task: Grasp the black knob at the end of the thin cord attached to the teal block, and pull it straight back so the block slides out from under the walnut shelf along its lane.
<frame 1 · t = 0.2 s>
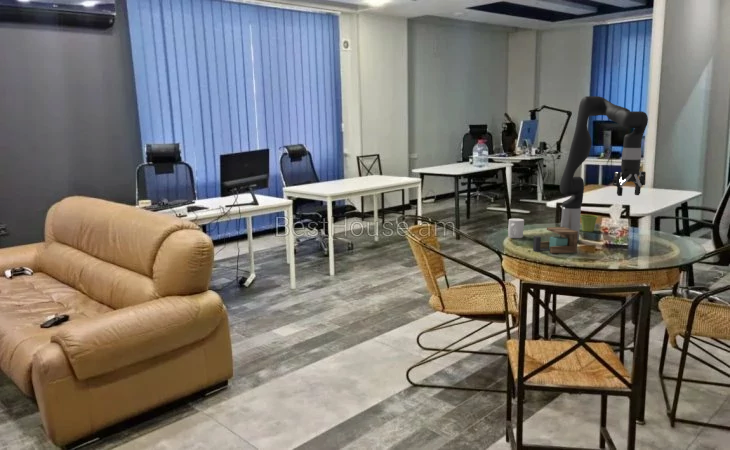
hand: (628, 195, 245), 29 cm above the table, fingers open, 8 cm apart
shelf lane: (556, 249, 270), on the table
plant pot: (587, 231, 318), on the table
mug: (514, 237, 302), on the table
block: (558, 249, 270), on the table
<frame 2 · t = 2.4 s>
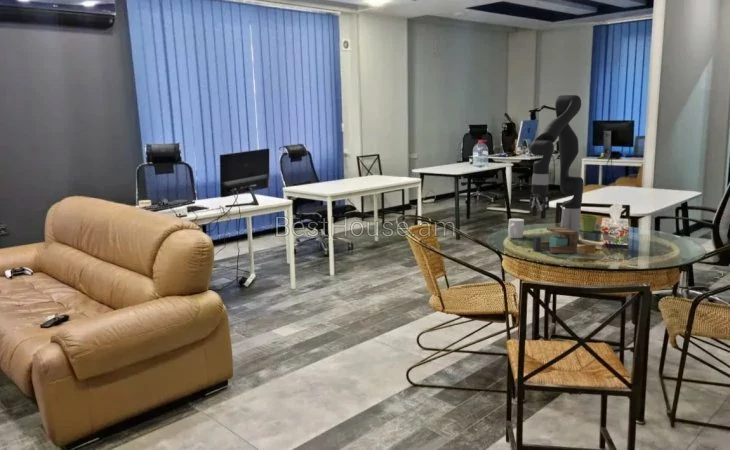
hand: (538, 217, 265), 16 cm above the table, fingers open, 8 cm apart
nothing on the table moved.
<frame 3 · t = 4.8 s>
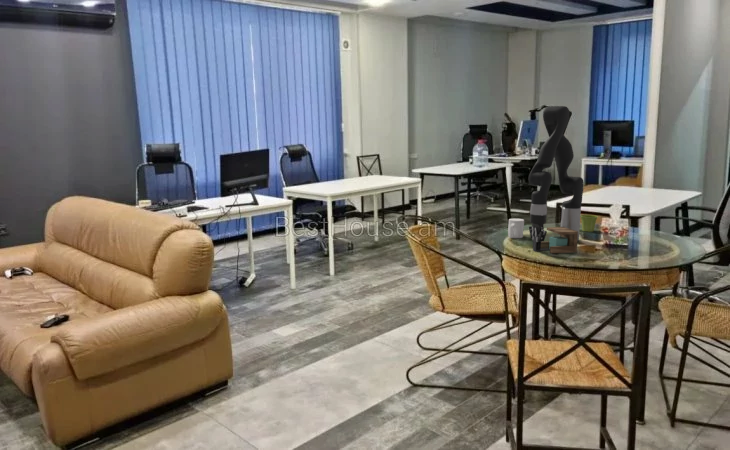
hand: (536, 248, 268), 1 cm above the table, fingers closed on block, 2 cm apart
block: (557, 249, 270), on the table, touching gripper
everything else where it was.
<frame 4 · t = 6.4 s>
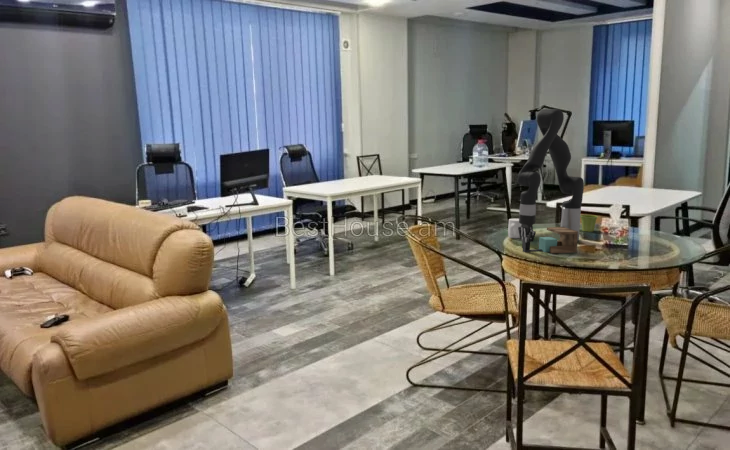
hand: (525, 249, 267), 1 cm above the table, fingers closed on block, 2 cm apart
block: (547, 250, 269), on the table, touching gripper
everything else where it was.
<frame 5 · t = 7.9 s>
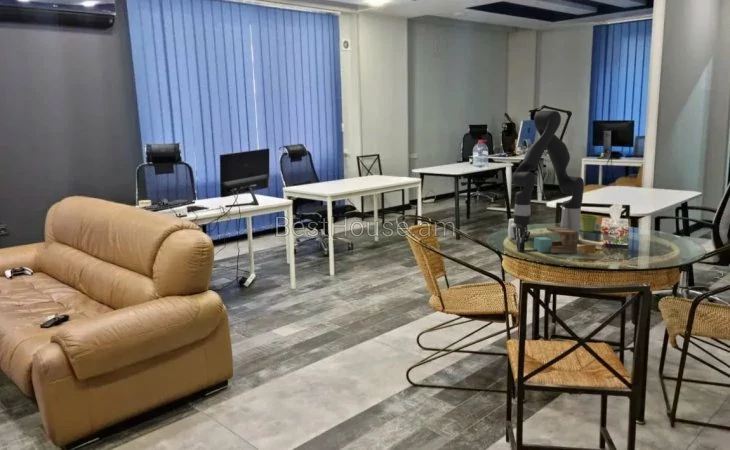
hand: (520, 249, 266), 1 cm above the table, fingers closed on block, 2 cm apart
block: (542, 250, 269), on the table, touching gripper
everything else where it was.
when the fingers open (1 cm above the table, at t = 8.2 s): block stays where it is, on the table.
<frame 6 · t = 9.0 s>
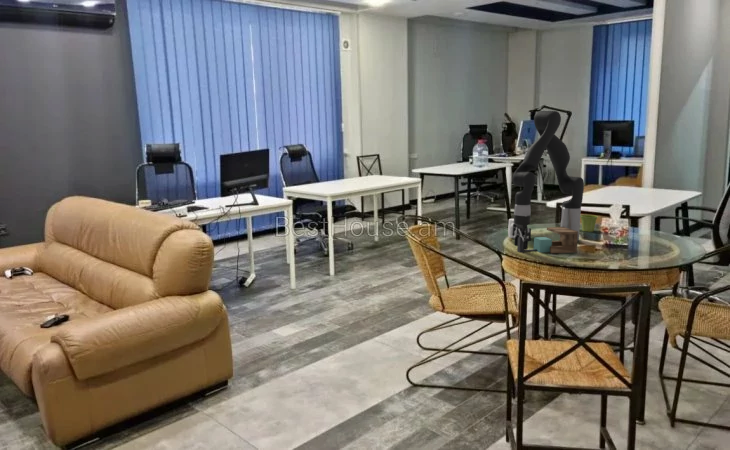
hand: (520, 247, 266), 2 cm above the table, fingers open, 8 cm apart
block: (542, 250, 269), on the table
everything else where it was.
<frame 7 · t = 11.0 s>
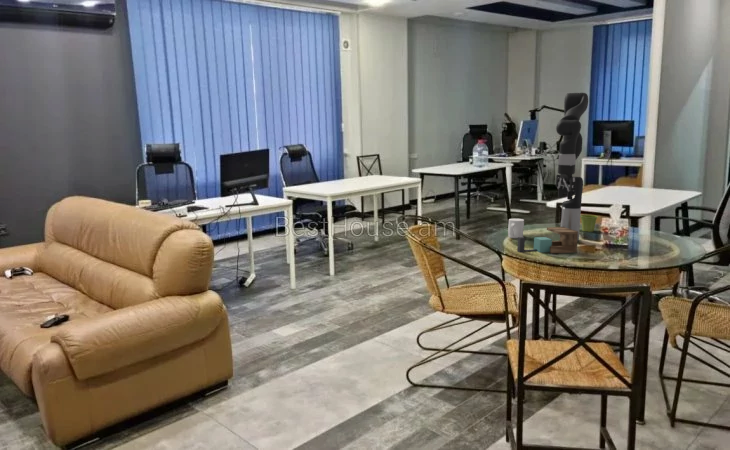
hand: (565, 198, 263), 26 cm above the table, fingers open, 8 cm apart
nothing on the table moved.
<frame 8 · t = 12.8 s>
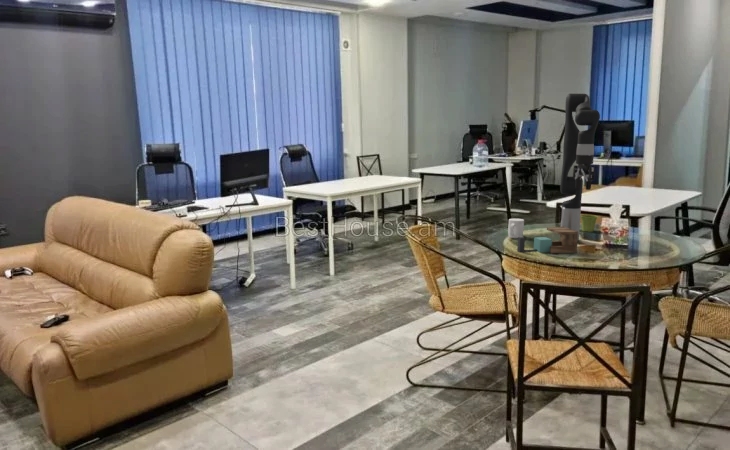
hand: (582, 188, 262), 30 cm above the table, fingers open, 8 cm apart
nothing on the table moved.
at the end: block inside the target area (2.3 cm from its centre), on the table; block tilted 0°; the gripper is holding nothing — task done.
